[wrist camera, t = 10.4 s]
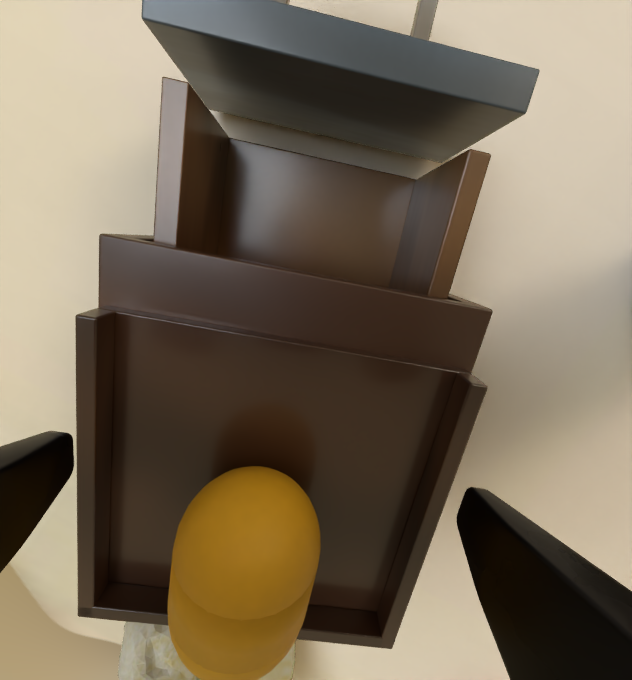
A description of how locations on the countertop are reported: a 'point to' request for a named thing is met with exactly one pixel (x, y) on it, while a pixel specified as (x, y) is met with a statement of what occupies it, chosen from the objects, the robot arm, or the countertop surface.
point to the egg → (242, 574)
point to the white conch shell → (169, 656)
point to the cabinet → (288, 302)
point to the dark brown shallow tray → (261, 458)
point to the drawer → (328, 120)
